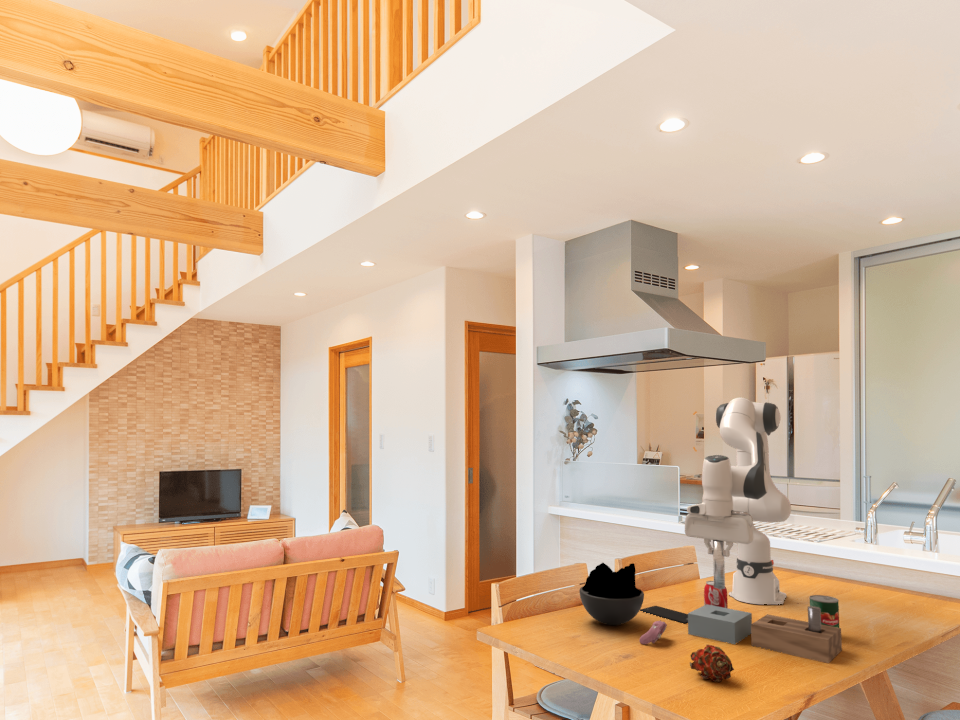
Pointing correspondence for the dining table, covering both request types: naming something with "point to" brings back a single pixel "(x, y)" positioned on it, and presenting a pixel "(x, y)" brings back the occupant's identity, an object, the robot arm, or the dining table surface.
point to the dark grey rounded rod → (814, 619)
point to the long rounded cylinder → (718, 564)
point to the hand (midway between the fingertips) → (718, 555)
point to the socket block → (719, 623)
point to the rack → (796, 638)
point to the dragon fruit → (712, 663)
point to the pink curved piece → (653, 633)
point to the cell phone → (667, 614)
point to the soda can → (715, 595)
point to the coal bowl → (612, 595)
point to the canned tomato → (827, 609)
